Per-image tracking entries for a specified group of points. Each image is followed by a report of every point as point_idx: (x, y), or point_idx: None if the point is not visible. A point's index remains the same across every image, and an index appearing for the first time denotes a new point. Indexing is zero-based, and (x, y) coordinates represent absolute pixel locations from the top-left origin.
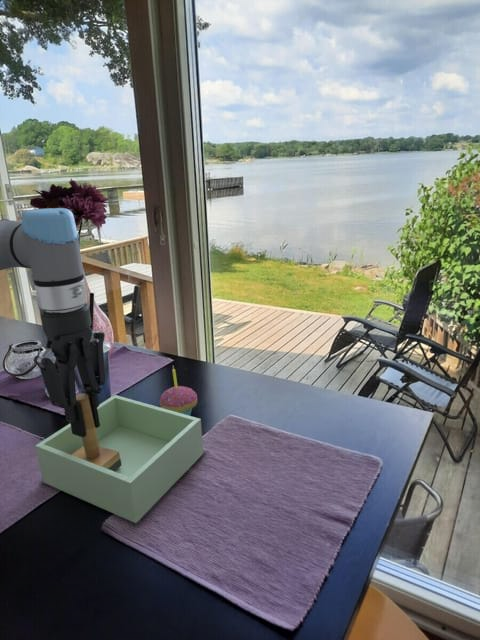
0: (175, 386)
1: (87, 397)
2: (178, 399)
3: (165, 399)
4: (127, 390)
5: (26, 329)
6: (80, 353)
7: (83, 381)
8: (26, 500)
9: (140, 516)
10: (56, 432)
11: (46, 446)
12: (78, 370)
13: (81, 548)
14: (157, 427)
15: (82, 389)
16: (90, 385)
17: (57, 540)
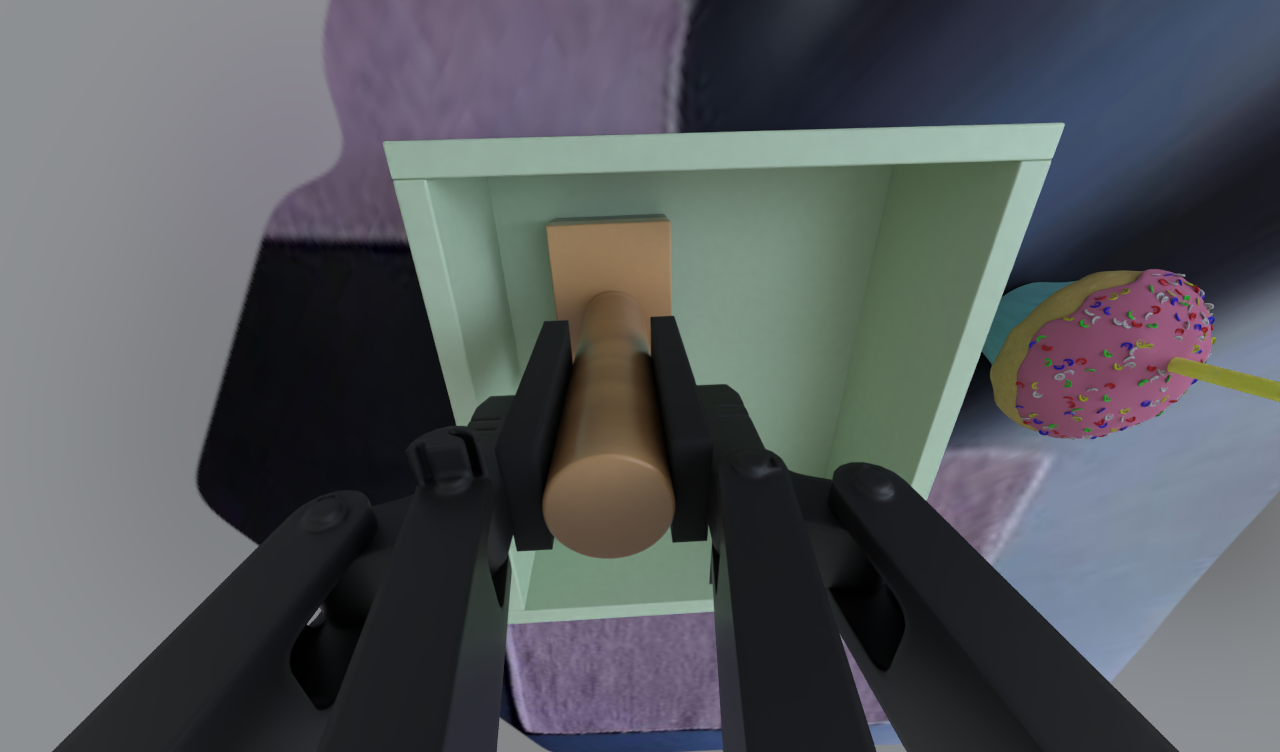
0: (1182, 371)
1: (631, 551)
2: (1064, 414)
3: (1067, 355)
4: None
5: None
6: None
7: (722, 567)
8: (370, 172)
9: None
10: (543, 141)
11: (424, 219)
12: (742, 728)
13: (403, 465)
14: (873, 395)
15: None
16: (714, 604)
17: (370, 403)
